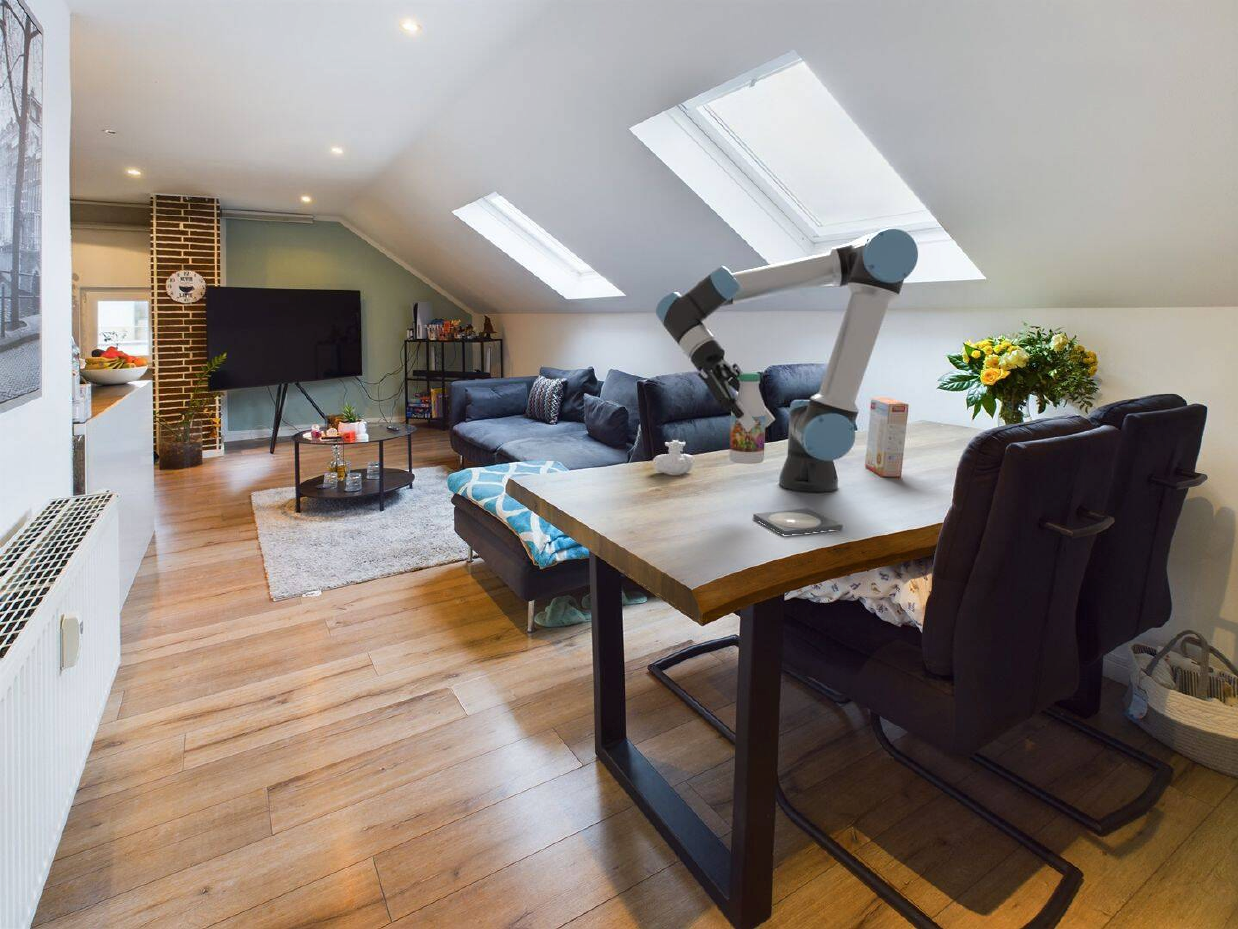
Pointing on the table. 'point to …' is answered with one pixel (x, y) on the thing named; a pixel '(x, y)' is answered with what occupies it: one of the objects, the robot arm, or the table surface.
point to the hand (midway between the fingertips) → (761, 425)
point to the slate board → (797, 521)
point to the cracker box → (886, 436)
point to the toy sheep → (674, 460)
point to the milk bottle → (752, 443)
